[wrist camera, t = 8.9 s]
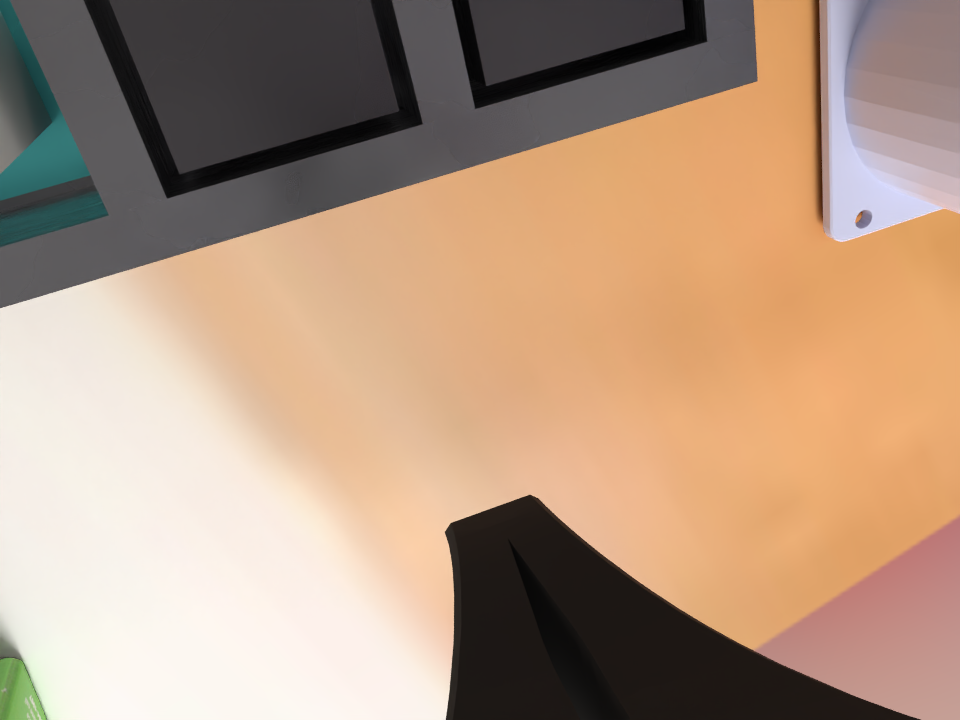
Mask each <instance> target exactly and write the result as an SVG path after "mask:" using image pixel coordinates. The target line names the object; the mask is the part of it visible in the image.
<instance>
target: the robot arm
mask: <svg viewBox="0 0 960 720" xmlns="http://www.w3.org/2000/svg"><path fill="white" fill-rule="evenodd" d="M819 2H820V62H821V123H822V183H823V228H824V232H825V233H826V235H827V236H828V237H830V238H832V239H834V240H837V241H840V242H842V241H848V240H851V239H854V238H857V237H860V236H863V235H866V234H869V233H872V232H875V231H878V230H881V229H884V228H887V227H890V226H893V225H896V224H899V223H902V222H905V221H908V220H911V219H914V218H917V217H920V216H923V215H926V214H929V213H932V212H935V211H938V210H941V209H944V208H945V209H948V210H951V211H954V212H957V213H959V214H960V0H819ZM861 211H862V212H863V213H862V217H861V219H860V220H859V222H857V223H855V220H856V217H857V215H858V214H859V213H860V212H861ZM445 534H446V537H447V540H448V543H449V548H450V553H451V559H452V567H453V581H454V645H453V657H452V669H451V681H450V692H449V700H448V708H447V716H446V720H920V719H917V718H913V717H910V716H907V715H904V714H901V713H899V712H896V711H893V710H890V709H888V708H885V707H882V706H879V705H877V704H874V703H871V702H868V701H866V700H863V699H861V698H858V697H855V696H853V695H850V694H848V693H846V692H843V691H841V690H839V689H836V688H834V687H832V686H830V685H827V684H825V683H822V682H820V681H818V680H816V679H813V678H811V677H809V676H806V675H804V674H802V673H800V672H797V671H795V670H793V669H790V668H788V667H786V666H783V665H781V664H779V663H777V662H775V661H773V660H771V659H769V658H767V657H765V656H763V655H761V654H759V653H757V652H755V651H753V650H751V649H749V648H747V647H745V646H743V645H741V644H739V643H737V642H736V641H734V640H732V639H730V638H728V637H726V636H725V635H723V634H721V633H719V632H717V631H716V630H714V629H712V628H710V627H708V626H707V625H705V624H703V623H702V622H700V621H698V620H697V619H695V618H693V617H692V616H690V615H688V614H687V613H685V612H683V611H682V610H680V609H679V608H677V607H675V606H674V605H672V604H671V603H669V602H668V601H666V600H665V599H663V598H662V597H660V596H659V595H657V594H656V593H654V592H653V591H651V590H650V589H648V588H647V587H645V586H644V585H642V584H641V583H640V582H638V581H637V580H635V579H634V578H632V577H631V576H630V575H628V574H627V573H626V572H624V571H623V570H622V569H620V568H619V567H618V566H616V565H615V564H614V563H612V562H611V561H610V560H608V559H607V558H606V557H604V556H603V555H602V554H600V553H599V552H598V551H597V550H595V549H594V548H593V547H592V546H590V545H589V544H588V543H587V542H586V541H584V540H583V539H582V538H581V537H580V536H578V535H577V534H576V533H575V532H574V531H572V530H571V529H570V528H569V527H568V526H567V525H566V524H564V523H563V522H562V521H561V520H560V519H559V518H558V517H557V516H556V515H555V514H554V513H552V512H551V511H550V510H549V509H548V508H547V507H546V506H545V505H544V504H543V503H542V502H541V501H540V500H539V499H538V498H536V497H534V496H532V495H528V496H525V497H522V498H520V499H517V500H514V501H511V502H508V503H506V504H503V505H500V506H497V507H494V508H492V509H489V510H486V511H483V512H481V513H478V514H475V515H472V516H469V517H467V518H464V519H461V520H458V521H456V522H453V523H450V525H449V527H448V528H447V530H446V531H445Z"/></svg>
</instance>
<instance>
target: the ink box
mask: <svg viewBox="0 0 960 720" xmlns="http://www.w3.org/2000/svg"><path fill="white" fill-rule="evenodd" d="M0 720H46V717H45V715H44V712H43V709H42V707H41V705H40V702H39V699H38V697H37V695H36V693H35V690H34V688H33V685H32V683H31V680H30V678H29V676H28V673H27V671H26V669H25V666H24V664H23V662H22V661H21V660H19V659H15V658H4V659H0Z"/></svg>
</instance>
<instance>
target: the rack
mask: <svg viewBox="0 0 960 720" xmlns="http://www.w3.org/2000/svg"><path fill="white" fill-rule="evenodd" d="M0 11H1V14H2V16H3V18H4V20H5V22H6V24H7V26H8V29H9V31H10V33H11V35H12V37H13V39H14V41H15V44H16V46H17V48H18V50H19V52H20V54H21V56H22V59H23V61H24V63H25V65H26V67H27V69H28V71H29V74H30V76H31V78H32V80H33V82H34V84H35V86H36V89H37V91H38V93H39V95H40V97H41V99H42V101H43V104H44V106H45V108H46V110H47V112H48V114H49V116H50V119H51V121H52V123H51V124H50V125H49V126H48V127H47V128H46V129H45V130H44V131H43V132H42V133H41V134H40V135H39V136H38V137H37V138H36V139H35V140H34V141H33V142H32V143H31V144H30V145H29V146H28V147H27V148H26V149H25V150H24V151H23V152H22V153H21V154H20V155H19V156H18V157H17V158H16V159H15V160H14V161H13V162H12V163H11V164H10V165H9V166H8V167H7V168H6V169H5V170H4V171H3V172H2V173H1V174H0V308H3V307H6V306H9V305H13V304H16V303H19V302H23V301H26V300H29V299H33V298H36V297H39V296H43V295H46V294H49V293H53V292H56V291H59V290H63V289H66V288H69V287H73V286H76V285H79V284H83V283H86V282H89V281H93V280H96V279H99V278H103V277H106V276H109V275H113V274H116V273H119V272H123V271H126V270H129V269H133V268H136V267H139V266H143V265H146V264H149V263H153V262H156V261H159V260H163V259H166V258H169V257H173V256H176V255H179V254H183V253H186V252H189V251H193V250H196V249H199V248H203V247H206V246H209V245H213V244H216V243H219V242H223V241H226V240H229V239H233V238H236V237H239V236H243V235H246V234H249V233H253V232H256V231H259V230H263V229H266V228H269V227H273V226H276V225H279V224H283V223H286V222H289V221H293V220H296V219H299V218H303V217H306V216H309V215H313V214H316V213H319V212H323V211H326V210H329V209H333V208H336V207H339V206H343V205H346V204H349V203H353V202H356V201H359V200H363V199H366V198H369V197H373V196H376V195H379V194H383V193H386V192H389V191H393V190H396V189H399V188H403V187H406V186H409V185H413V184H416V183H419V182H423V181H426V180H429V179H433V178H436V177H439V176H443V175H446V174H449V173H453V172H456V171H459V170H463V169H466V168H469V167H473V166H476V165H479V164H483V163H486V162H489V161H493V160H496V159H499V158H503V157H506V156H509V155H513V154H516V153H519V152H523V151H526V150H529V149H533V148H536V147H539V146H543V145H546V144H549V143H553V142H556V141H559V140H563V139H566V138H569V137H573V136H576V135H579V134H583V133H586V132H589V131H593V130H596V129H599V128H603V127H606V126H609V125H613V124H616V123H619V122H623V121H626V120H629V119H633V118H636V117H639V116H643V115H646V114H649V113H653V112H656V111H659V110H663V109H666V108H669V107H673V106H676V105H679V104H683V103H686V102H689V101H693V100H696V99H699V98H703V97H706V96H710V95H713V94H716V93H720V92H723V91H726V90H730V89H733V88H736V87H740V86H743V85H746V84H750V83H753V82H756V81H757V62H756V43H755V25H754V6H753V0H0Z"/></svg>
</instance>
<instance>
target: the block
mask: <svg viewBox="0 0 960 720" xmlns="http://www.w3.org/2000/svg"><path fill="white" fill-rule="evenodd" d="M51 123H52V121H51V119H50V116H49V114H48V112H47V110H46V108H45V106H44V104H43V101H42V99H41V97H40V95H39V93H38V91H37V89H36V86H35V84H34V82H33V80H32V78H31V76H30V74H29V71H28V69H27V67H26V65H25V63H24V61H23V59H22V56H21V54H20V52H19V50H18V48H17V46H16V44H15V41H14V39H13V37H12V35H11V33H10V31H9V29H8V26H7V24H6V22H5V20H4V18H3V16H2V14H1V11H0V174H1V173H2V172H3V171H4V170H5V169H6V168H7V167H8V166H9V165H10V164H11V163H12V162H13V161H14V160H15V159H16V158H17V157H18V156H19V155H20V154H21V153H22V152H23V151H24V150H25V149H26V148H27V147H28V146H29V145H30V144H31V143H32V142H33V141H34V140H35V139H36V138H37V137H38V136H39V135H40V134H41V133H42V132H43V131H44V130H45V129H46V128H47V127H48V126H49V125H50V124H51Z"/></svg>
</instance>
